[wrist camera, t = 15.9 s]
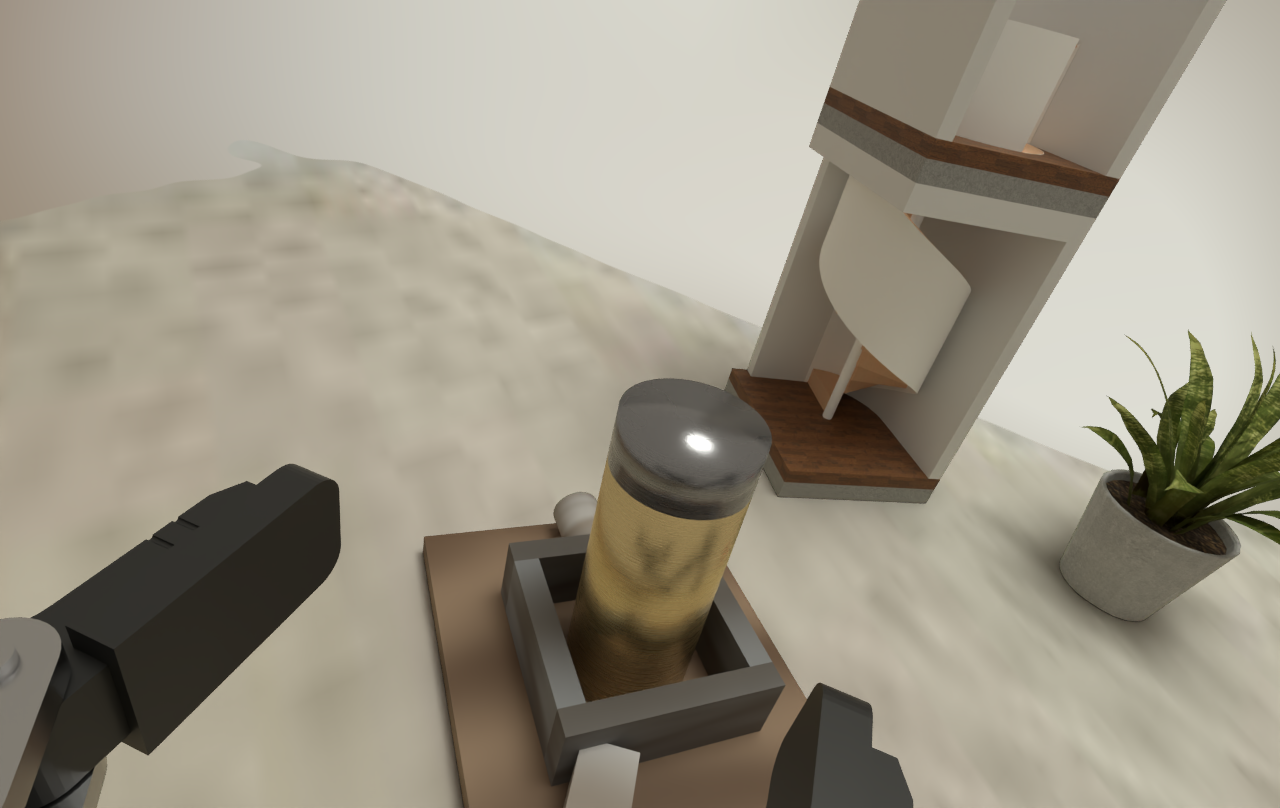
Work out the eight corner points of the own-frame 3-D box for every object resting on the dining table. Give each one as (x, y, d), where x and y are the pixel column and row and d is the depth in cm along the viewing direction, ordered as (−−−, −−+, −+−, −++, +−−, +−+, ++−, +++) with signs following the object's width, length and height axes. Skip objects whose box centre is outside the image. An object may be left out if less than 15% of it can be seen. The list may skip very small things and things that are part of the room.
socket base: (861, 821, 26) (906, 765, 24) (488, 956, 20) (503, 896, 18) (688, 522, 37) (708, 466, 35) (423, 552, 32) (427, 486, 30)
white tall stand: (724, 391, 50) (939, -230, 32) (849, 402, 53) (1113, -160, 35) (777, 496, 41) (1123, -289, 23) (925, 503, 44) (1338, -188, 26)
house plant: (1313, 677, 38) (1591, 451, 30) (1181, 744, 32) (1484, 483, 24) (1092, 505, 49) (1252, 299, 40) (960, 531, 43) (1115, 294, 34)
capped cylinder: (704, 697, 27) (801, 461, 21) (587, 730, 25) (657, 477, 19) (654, 601, 31) (725, 376, 25) (548, 622, 29) (596, 381, 23)
